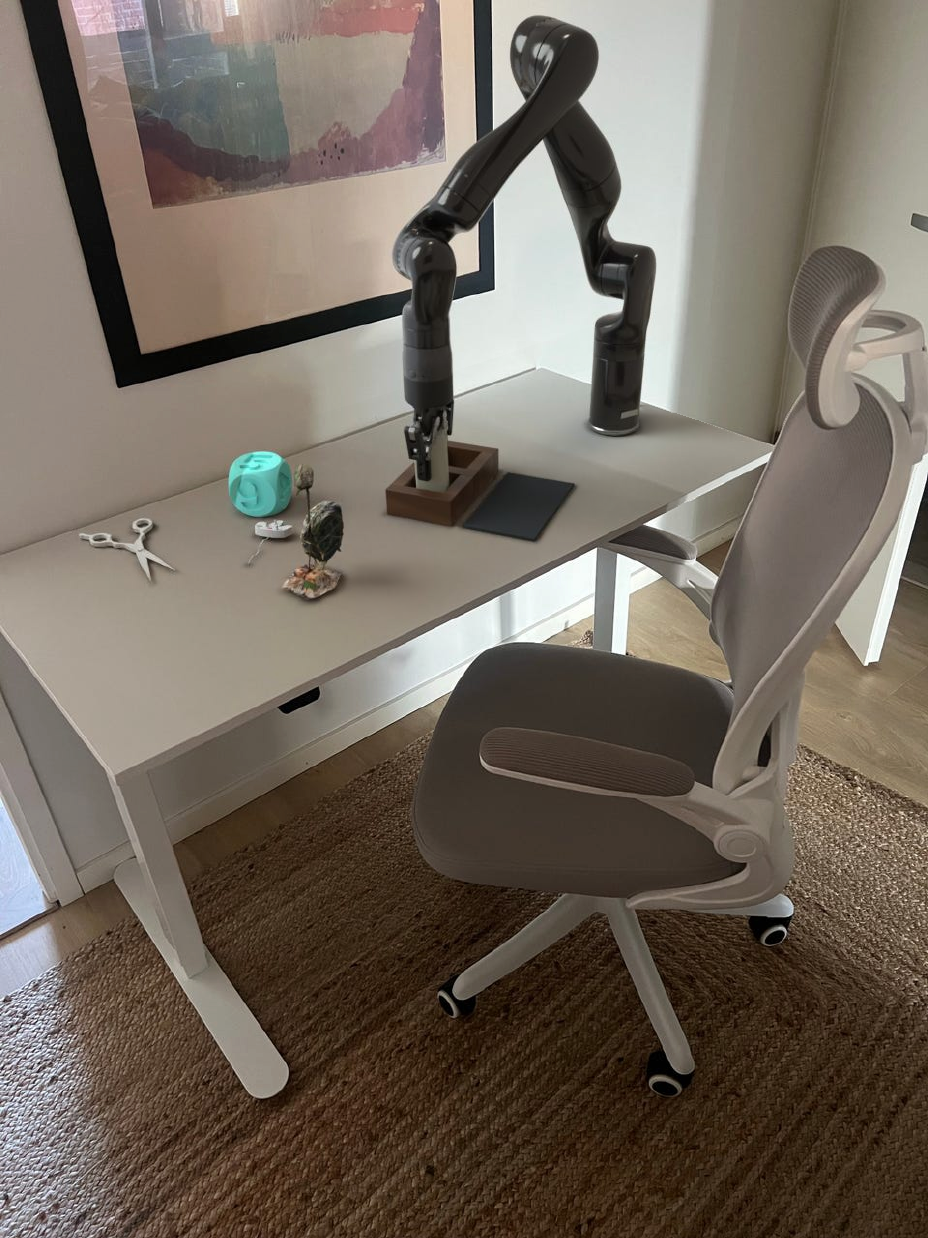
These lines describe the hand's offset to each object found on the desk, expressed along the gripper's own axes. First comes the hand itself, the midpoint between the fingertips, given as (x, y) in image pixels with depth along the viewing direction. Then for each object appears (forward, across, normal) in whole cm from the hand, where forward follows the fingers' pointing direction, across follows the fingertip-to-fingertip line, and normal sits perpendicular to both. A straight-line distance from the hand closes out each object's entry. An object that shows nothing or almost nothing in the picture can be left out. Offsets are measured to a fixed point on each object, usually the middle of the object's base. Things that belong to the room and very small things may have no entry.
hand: (432, 471), depth 159 cm
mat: (+6, +4, -14) cm, 15 cm away
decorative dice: (+6, -10, +26) cm, 29 cm away
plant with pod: (+6, -27, +6) cm, 29 cm away
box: (+6, 0, 0) cm, 6 cm away
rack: (+6, +5, 0) cm, 7 cm away
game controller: (+6, -21, +19) cm, 29 cm away
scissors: (+6, -30, +36) cm, 48 cm away
